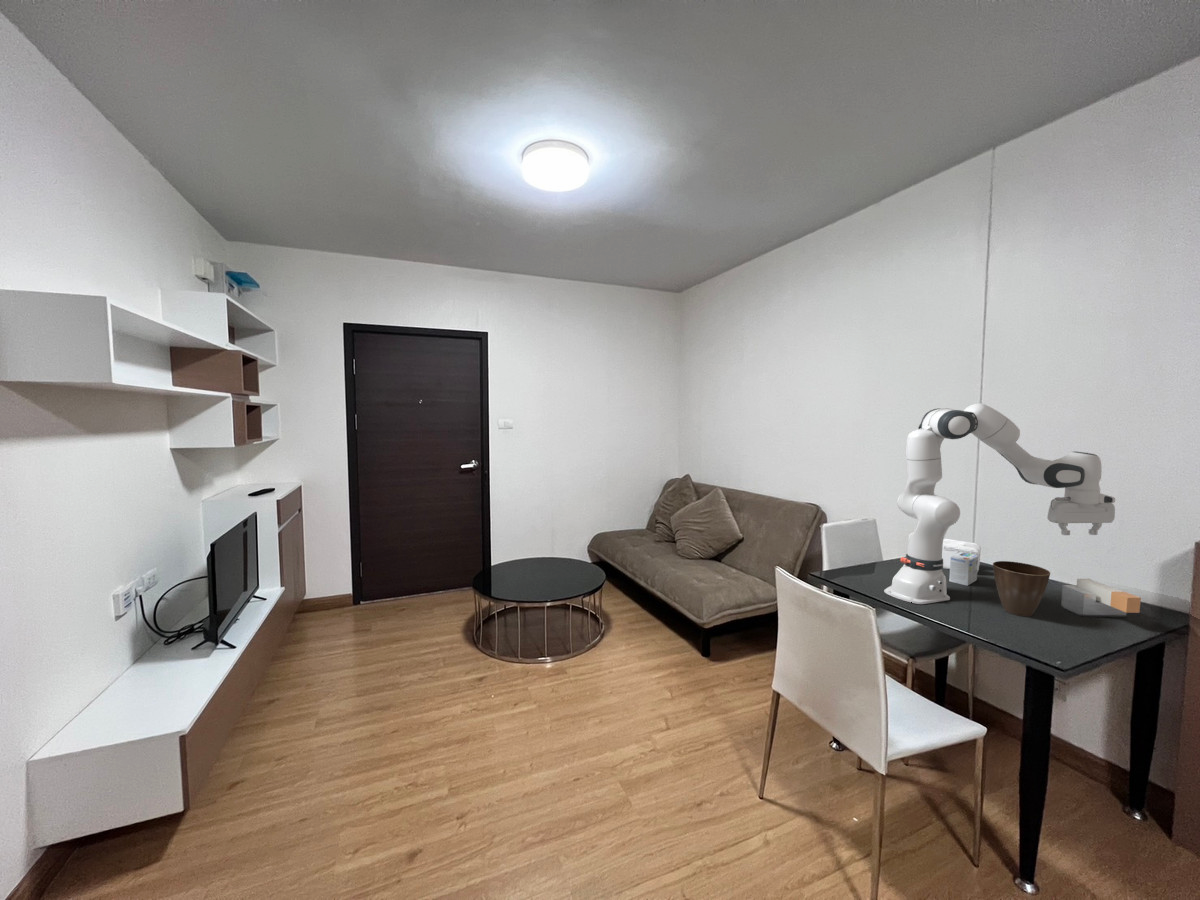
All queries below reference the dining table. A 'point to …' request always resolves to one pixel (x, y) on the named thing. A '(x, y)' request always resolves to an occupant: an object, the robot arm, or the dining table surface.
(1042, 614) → the dining table surface
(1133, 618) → the dining table surface
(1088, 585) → the plug
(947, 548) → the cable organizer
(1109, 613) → the housing
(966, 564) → the light bulb box
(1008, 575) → the plant pot
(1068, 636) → the dining table surface
